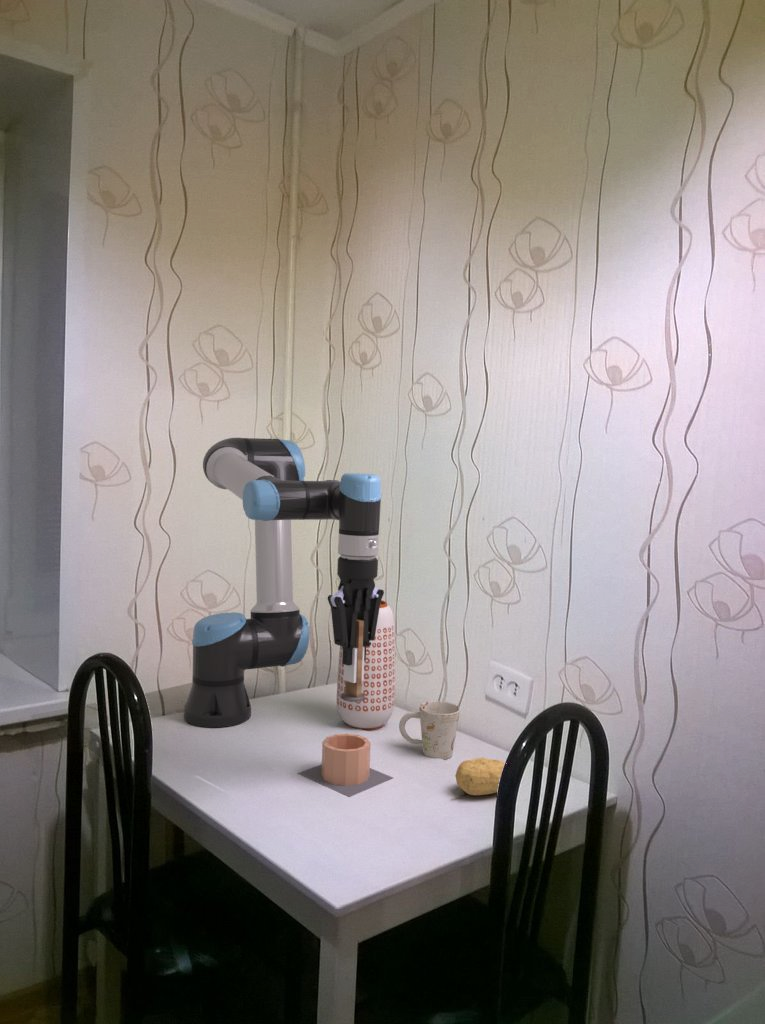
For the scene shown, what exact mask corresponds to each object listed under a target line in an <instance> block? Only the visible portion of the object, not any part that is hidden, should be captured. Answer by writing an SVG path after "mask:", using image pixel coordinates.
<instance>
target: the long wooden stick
mask: <svg viewBox="0 0 765 1024" xmlns="http://www.w3.org/2000/svg"><path fill="white" fill-rule="evenodd" d="M363 631H364V621H363V620H358V619H357V623H356V636H355V646H354V647H355V648H358V653H357V680H356V683H352V682H349V681H346V685H345V692H344V693H342V695H341V698H342V699H343V700H345V701H351V702H357V701H362V700H364V699H365V695H364V694H363V693H361V683H362V657H363Z"/></svg>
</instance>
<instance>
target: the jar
mask: <svg viewBox="0 0 765 1024" xmlns="http://www.w3.org/2000/svg"><path fill="white" fill-rule="evenodd" d="M321 744H322V749H321V751H322V752H321V764H322V777H323V779H324V780H325V781H327V782H329V783H332V784H336V785H343V786H348V785H358V784H360V783H363V782H365V781H367V779H368V777H369V775H370V768H371V767H370V766H371V746H372V745H371V741H370V740H369V738H367V737H365V736H362V735H359V734H353V733H340V734H339V733H338V734H337V733H336V734H333V735H330V736H329V735H328V736H327V737H325V738H324V739H323V741H322V743H321Z"/></svg>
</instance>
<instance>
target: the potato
mask: <svg viewBox="0 0 765 1024" xmlns="http://www.w3.org/2000/svg"><path fill="white" fill-rule="evenodd" d="M504 763H506V762H505V761H503V760H499V759H492V758H485V757H479V758H473V759H467V760H466V759H465V760H463V761H462V762H461V763H459V765H458V767H457V768H456V771H455V772H456V773H455V780H456V784H457V786H459V787H460V788H461V790H462V791H463V792H465V793H466V794H468V795H470V796H484V795H492V794H495V793H498V792H497V789H498V784H499V779H500V776H501V773H502V769H503V766H504Z"/></svg>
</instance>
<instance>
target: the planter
mask: <svg viewBox="0 0 765 1024" xmlns="http://www.w3.org/2000/svg"><path fill="white" fill-rule="evenodd" d="M394 619H395V618H394V613H393V610H392V608H391V606H389V604H388V603H387V601H384V600H382V599H381V602H380V608H379V614H378V620H377V627H376V633H375V638H374V640H373V641H371V640H370V641H369V642H371V645H370V646H366V659H365V661H364V676H363V681H362V683H361V693H363V694H364V695H365V699H364V700H362V701H357V702H351V701H345V700H343V699H342V698H341V695H342V693H344V692H345V685H346V680H343V677H344V664H343V662H342V659H343V658H342V657H343V648H342V646H339V651H338V652H339V654H338V655H339V656H338V668H337V669H338V671H337V685H336V686H337V687H336V708H337V711H338V715H339V717H340V718H341V719H342V721H343V722H344V723H345V724H346V725H347V726H348V727H350V728H352V729H353V728H354V729H360V730H363V731H374V730H378V729H380V728H383V727H384V725H385V724H386V723H387V722H388V721H389V720H390V719H391V717H392V715H393V713H394V709H395V704H396V640H395V638H396V637H395V621H394ZM368 633H370V632H368Z"/></svg>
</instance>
